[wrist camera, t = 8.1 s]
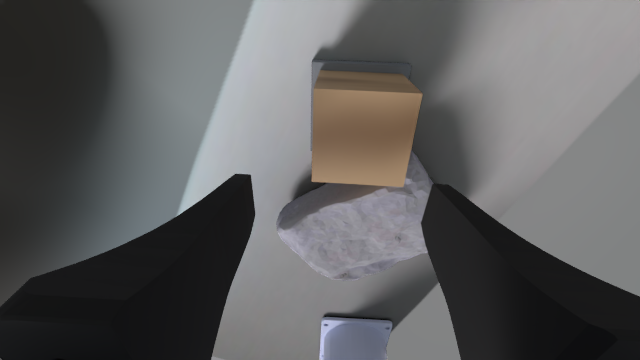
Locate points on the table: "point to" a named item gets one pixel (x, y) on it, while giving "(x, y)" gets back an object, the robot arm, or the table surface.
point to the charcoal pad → (354, 67)
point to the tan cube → (363, 127)
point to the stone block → (358, 225)
